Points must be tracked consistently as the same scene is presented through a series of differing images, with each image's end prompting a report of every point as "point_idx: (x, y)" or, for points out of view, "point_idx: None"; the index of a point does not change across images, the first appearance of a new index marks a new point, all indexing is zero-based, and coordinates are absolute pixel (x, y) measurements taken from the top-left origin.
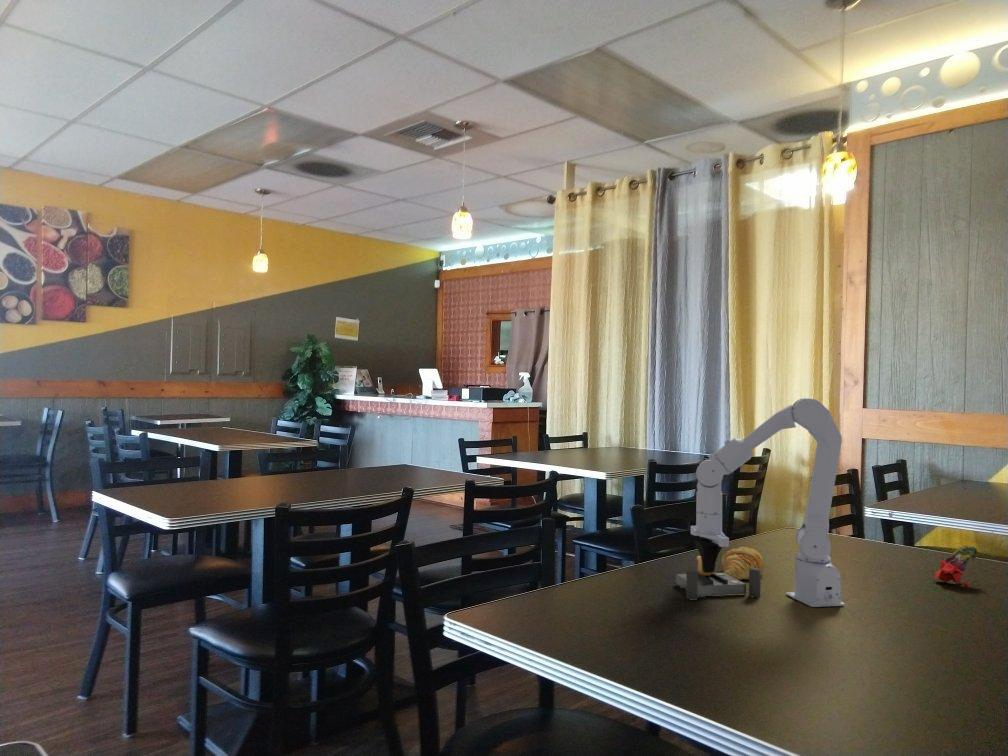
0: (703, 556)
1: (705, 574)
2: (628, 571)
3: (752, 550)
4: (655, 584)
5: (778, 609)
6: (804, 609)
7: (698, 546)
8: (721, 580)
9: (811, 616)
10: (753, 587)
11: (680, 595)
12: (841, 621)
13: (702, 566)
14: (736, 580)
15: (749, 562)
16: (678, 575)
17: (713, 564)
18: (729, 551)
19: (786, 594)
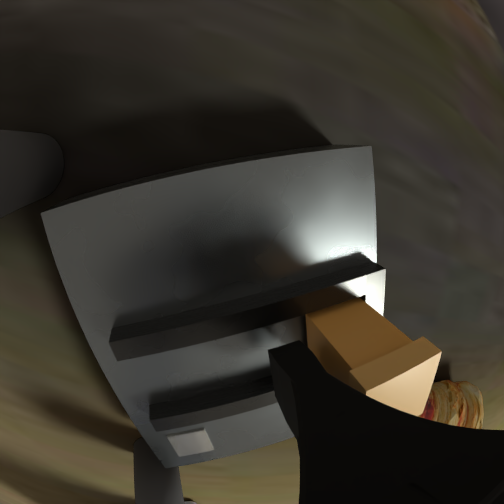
0: (312, 437)
1: (308, 338)
2: (485, 44)
3: None
4: (341, 36)
5: (29, 454)
6: (64, 493)
7: (439, 469)
8: (190, 402)
9: (14, 480)
10: (134, 474)
11: (108, 108)
12: (15, 499)
13: (335, 352)
14: (224, 449)
15: None
16: (343, 149)
17: (297, 433)
18: (477, 424)
19: (187, 501)
